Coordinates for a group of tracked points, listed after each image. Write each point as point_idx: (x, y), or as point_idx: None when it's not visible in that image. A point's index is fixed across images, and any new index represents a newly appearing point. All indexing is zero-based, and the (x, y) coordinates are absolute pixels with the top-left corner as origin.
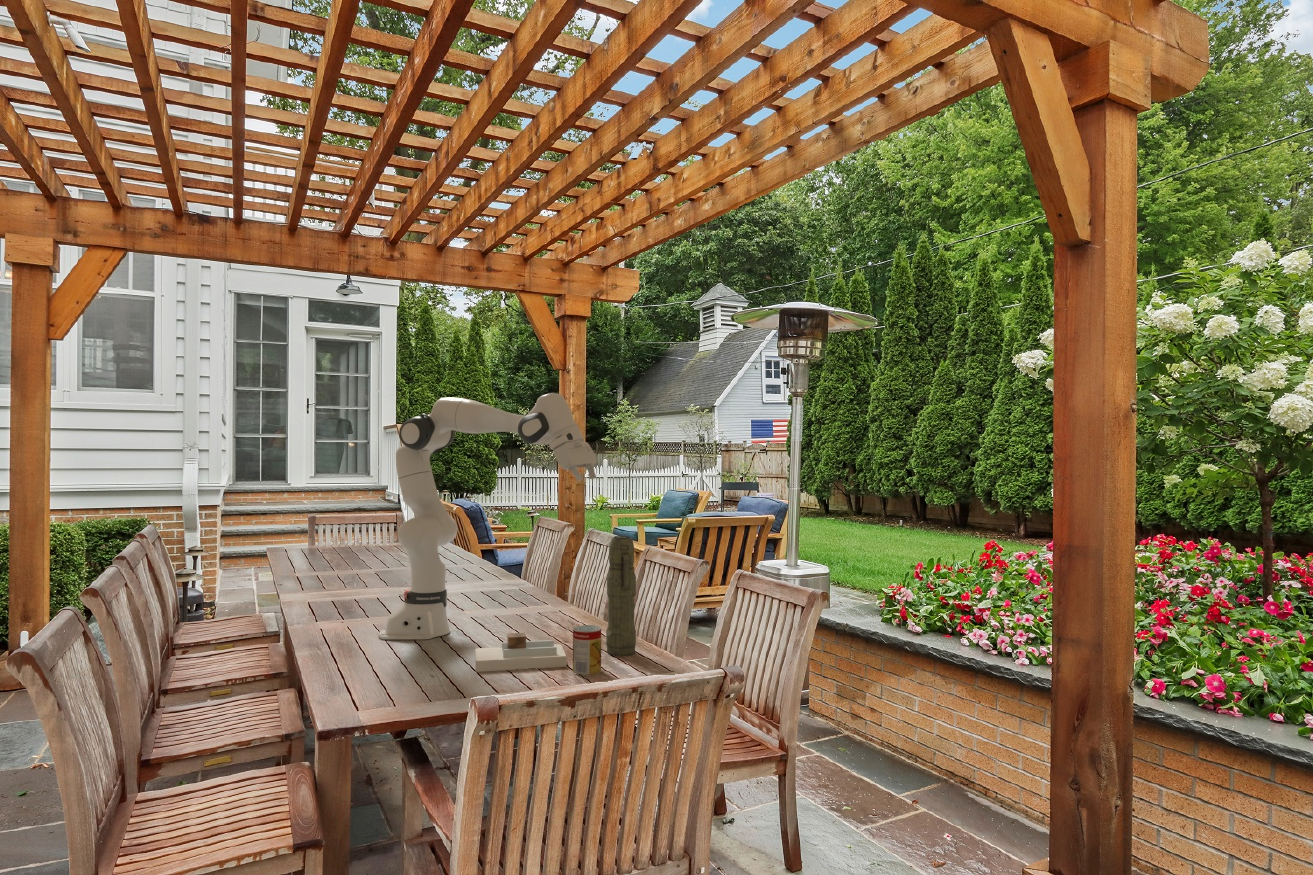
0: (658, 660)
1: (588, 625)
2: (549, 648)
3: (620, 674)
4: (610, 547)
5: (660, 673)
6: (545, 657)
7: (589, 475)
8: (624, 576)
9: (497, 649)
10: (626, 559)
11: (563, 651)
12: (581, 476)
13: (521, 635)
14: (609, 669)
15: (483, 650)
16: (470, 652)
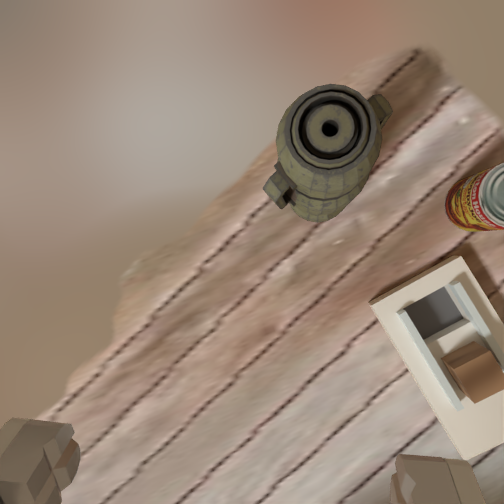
0: None
1: (481, 204)
2: (466, 295)
3: (471, 136)
4: (367, 173)
5: (439, 67)
6: (483, 292)
7: (55, 500)
8: (381, 128)
9: (457, 413)
10: (388, 104)
11: (427, 276)
12: (453, 490)
13: (483, 365)
14: (444, 169)
15: (474, 437)
16: None
